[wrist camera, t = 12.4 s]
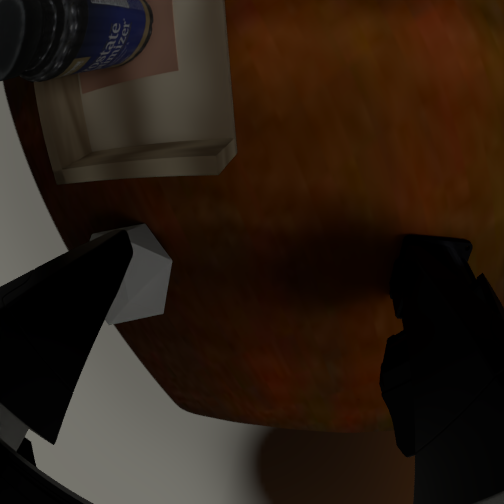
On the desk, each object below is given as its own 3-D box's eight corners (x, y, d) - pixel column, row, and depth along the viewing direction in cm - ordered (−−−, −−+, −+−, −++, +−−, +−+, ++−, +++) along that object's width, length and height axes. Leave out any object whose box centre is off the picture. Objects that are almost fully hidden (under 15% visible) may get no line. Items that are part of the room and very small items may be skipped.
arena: (220, -54, 12) (196, -75, 8) (237, 153, 21) (218, 174, 17) (64, 2, 14) (27, 3, 11) (88, 164, 24) (56, 184, 20)
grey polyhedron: (99, 212, 27) (65, 303, 25) (114, 193, 21) (67, 316, 18) (167, 244, 32) (138, 329, 29) (203, 237, 25) (166, 349, 22)
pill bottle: (122, 81, 18) (3, 120, 9) (79, 41, 16) (-36, 64, 8) (173, 18, 15) (52, 7, 6) (122, -20, 13) (4, -33, 4)
